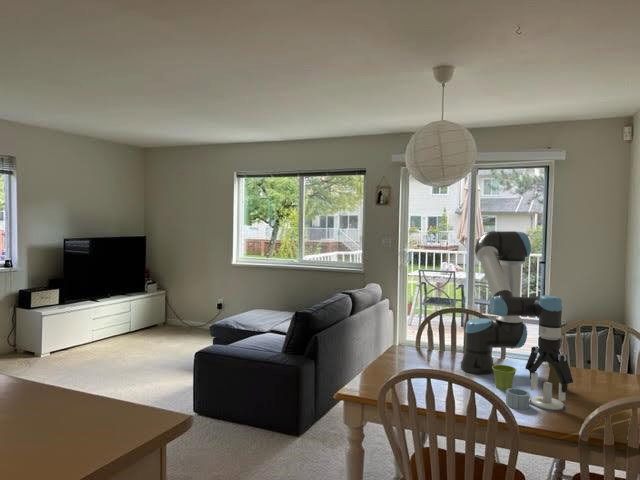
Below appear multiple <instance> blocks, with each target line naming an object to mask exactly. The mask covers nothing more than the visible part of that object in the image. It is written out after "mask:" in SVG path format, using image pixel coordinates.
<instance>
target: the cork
mask: <svg viewBox="0 0 640 480" xmlns="http://www.w3.org/2000/svg"><path fill="white" fill-rule="evenodd" d="M555 363H556V362H555ZM560 365H561V364H560ZM548 367H549V373H548V377H547V378H548V379H547V382H549V383H552V389H559V383H561V381H560V379H559V377H558V375H557V373H556V371H555V369H554V367H553V366H552V365H551V363H548Z"/></svg>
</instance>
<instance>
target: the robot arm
mask: <svg viewBox="0 0 640 480" xmlns="http://www.w3.org/2000/svg"><path fill="white" fill-rule="evenodd" d="M531 252H532V245H531V241H530V238H529V236H528V235H527V233H525V232H523V231H515V230H513V231H503V230H502V231H496V230H492V231H488V232H485V233H483V234H482V235H481V236H480V237H479V238H478V240H477V241H476V243H475V246H474V254H475V257H476V259H477V260H478V261H479V263H480V264H481V265H480V266H481V267H482V269H483V273H484V276H485V278H486V281H487V284H488V287H489V289H490V292H491V295H492V297H491V298H489V311H490V312H491V314H492V315H494V316H496V317H495V322H493V320H492V319H490V318H484V317H483V318H482V317H481V318H479V317H478V318H474V319H473V318H472V319H469V320H468V321H466V323H465V330H464V332H465V337H464V338H465V341H464V342H465V343H464V353H463V357H462V360H461V361H460V368H461V370H462V371H464V372H467V373H470V374H476V375H489V374H494V372H493V369H492V366H494V365H495V363H494V359H493V357H492V356H493V355H492V348H493V349H494V348H495V349H499V348H500V349H502V348H503V349H521V348H522V347H524V345H526V342H527V338H528V328H527V324H525V323H524V322H523V319H522V318H521V317H537V318H538V336H539V337H538V338H537V339H538V340H537V341H538V343H537V346H532V347H531V350H530V352H531V353H530V355H529V357H528V359H527V362H526V365H525V368H524V369H525V370H528V372H529V380H530V391H536V390H538V380H539V379H538V378H539V377H538V375H539V373H538V369H539V368H540V367H541V365H543V363H544V362H545V363H546V362H547V363H548V364H549V363H551V365H552V366H553V367H554V369H555V371H556V373H557V375H558V377H559V379H560V381H561V383H559V388H558V398H557V400H558V401H561V402H563V401H566V393H568V384H572V383H574V379H573V376H572V372H571V369H570V365H569V361H568V355H567V354H561V353H560V349H561V344H562V343H561V341H562V340H561V339H560V338H562V315H563V313H562V312H563V304H562V303H563V302H562V300H563V299H562V298H561V296H560V297H559V296H555V295H549V294H548V295H546V294H545V295H541V296H539V295H530V296H521V284H522V283H521V282H522V279H521V278H522V265H523V264H525V262H526V258H529V257H530V255H531ZM538 354H539V356H538ZM555 362H556V363H555ZM560 364H561V365H560Z"/></svg>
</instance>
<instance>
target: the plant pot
mask: <svg viewBox="0 0 640 480" xmlns="http://www.w3.org/2000/svg"><path fill="white" fill-rule="evenodd" d="M492 369H493V372H494V373H493V374H494V383H495V388H496V389H498V390H500V391H506V390H507V389H510V388H513V384H514V377H515V374H516V372H517V368H516V367H513V366H511V365H506V364H494V366H492Z"/></svg>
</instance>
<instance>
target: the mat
mask: <svg viewBox="0 0 640 480" xmlns="http://www.w3.org/2000/svg"><path fill="white" fill-rule="evenodd" d="M530 406H532V407H535V408H537V409H540V410H542V411H543V412H546V413H549V414H552V413H556V412H561V411H565V410H568V409H573V407H571V406H569V405H566V404H564V407H563V409H561V410H547V409H542V408H539V407H536V406H534V405H533V404H532V403H531V399H530Z"/></svg>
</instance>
